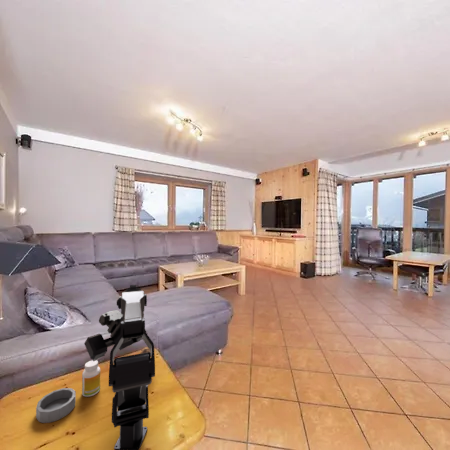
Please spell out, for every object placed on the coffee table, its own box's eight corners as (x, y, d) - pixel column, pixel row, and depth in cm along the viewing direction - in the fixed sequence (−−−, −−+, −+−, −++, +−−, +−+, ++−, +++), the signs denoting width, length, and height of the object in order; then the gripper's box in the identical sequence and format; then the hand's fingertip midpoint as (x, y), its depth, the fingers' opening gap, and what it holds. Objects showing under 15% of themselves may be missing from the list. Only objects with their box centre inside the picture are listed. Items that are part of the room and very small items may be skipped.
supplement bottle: (103, 389, 81) (103, 361, 81) (87, 399, 76) (88, 370, 76) (94, 384, 83) (94, 357, 83) (78, 393, 79) (79, 364, 79)
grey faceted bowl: (60, 423, 67) (61, 412, 67) (28, 422, 67) (28, 411, 67) (81, 398, 77) (82, 388, 77) (53, 397, 77) (53, 387, 77)
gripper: (140, 297, 84) (121, 326, 89) (88, 309, 69) (68, 343, 73) (156, 322, 79) (135, 351, 84) (103, 341, 64) (81, 376, 68)
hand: (107, 354), depth 77 cm, fingers open, 9 cm apart
